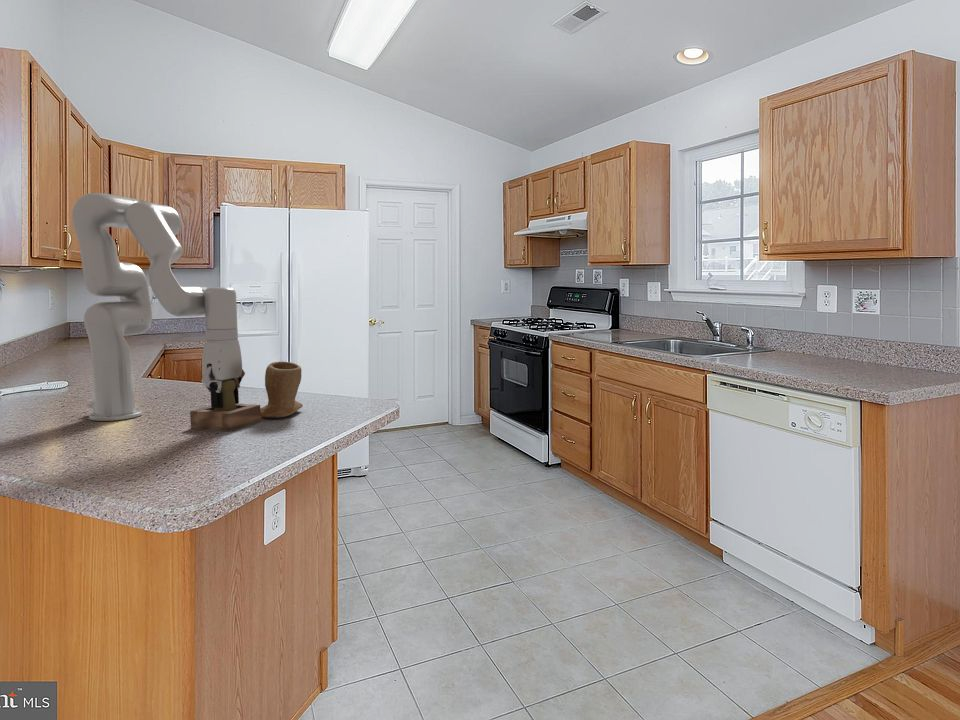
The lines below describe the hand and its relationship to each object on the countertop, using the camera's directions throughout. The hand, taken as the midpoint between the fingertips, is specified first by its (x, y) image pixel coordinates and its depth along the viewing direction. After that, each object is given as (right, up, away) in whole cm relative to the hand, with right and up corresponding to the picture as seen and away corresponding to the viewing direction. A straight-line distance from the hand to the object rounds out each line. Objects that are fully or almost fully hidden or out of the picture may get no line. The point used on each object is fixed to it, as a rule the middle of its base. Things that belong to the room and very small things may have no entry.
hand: (225, 404), depth 160 cm
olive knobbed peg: (0, -4, +1) cm, 4 cm away
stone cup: (+11, -4, +13) cm, 18 cm away
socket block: (0, -5, +1) cm, 5 cm away
